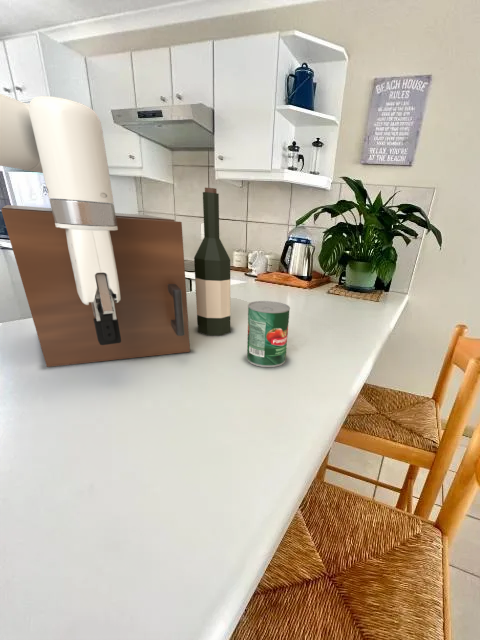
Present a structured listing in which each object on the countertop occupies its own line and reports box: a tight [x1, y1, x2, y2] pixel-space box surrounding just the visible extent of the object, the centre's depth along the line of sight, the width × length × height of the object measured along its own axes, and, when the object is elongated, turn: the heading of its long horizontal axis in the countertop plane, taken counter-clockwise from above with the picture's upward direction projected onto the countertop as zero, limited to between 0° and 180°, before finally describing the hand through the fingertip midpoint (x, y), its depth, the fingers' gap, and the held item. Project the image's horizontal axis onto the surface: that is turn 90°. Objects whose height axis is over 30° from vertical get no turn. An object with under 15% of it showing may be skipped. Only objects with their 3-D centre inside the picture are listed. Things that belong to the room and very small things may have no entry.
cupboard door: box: [0, 208, 191, 368], centre depth 53 cm, size 6×24×24 cm, turn 118°
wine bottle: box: [193, 187, 231, 336], centre depth 72 cm, size 8×8×30 cm
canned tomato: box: [246, 300, 291, 368], centre depth 63 cm, size 8×8×11 cm
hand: (110, 342), depth 53 cm, fingers closed
